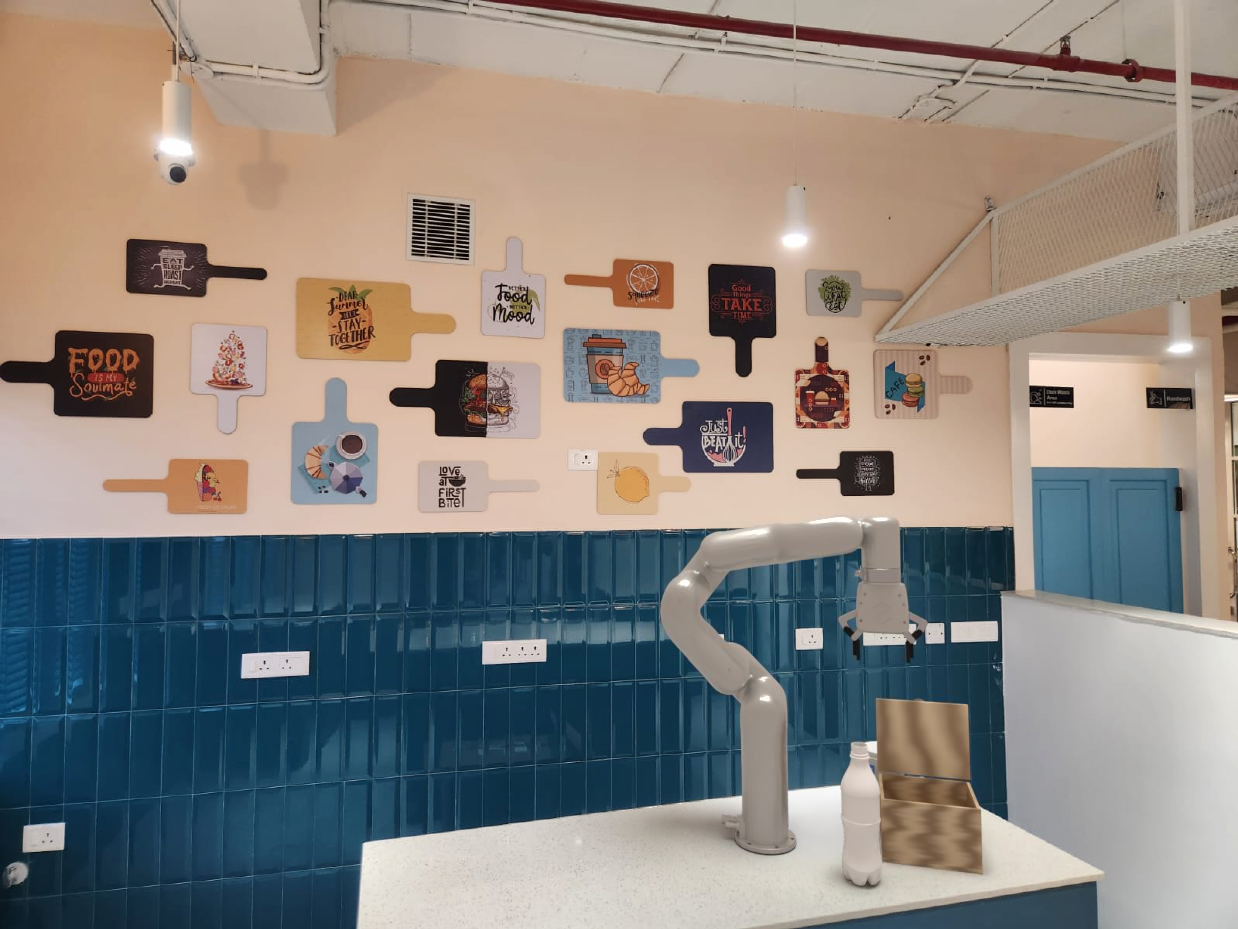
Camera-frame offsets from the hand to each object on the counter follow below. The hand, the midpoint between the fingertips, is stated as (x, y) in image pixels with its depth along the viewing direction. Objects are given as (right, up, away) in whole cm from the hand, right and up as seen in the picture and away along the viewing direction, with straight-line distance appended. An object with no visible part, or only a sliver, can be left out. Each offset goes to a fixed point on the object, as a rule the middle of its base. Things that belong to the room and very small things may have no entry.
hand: (882, 660), depth 155 cm
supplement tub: (+6, -39, +17) cm, 43 cm away
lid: (+11, -19, +7) cm, 23 cm away
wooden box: (+9, -38, -1) cm, 39 cm away
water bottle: (-8, -38, -13) cm, 41 cm away
